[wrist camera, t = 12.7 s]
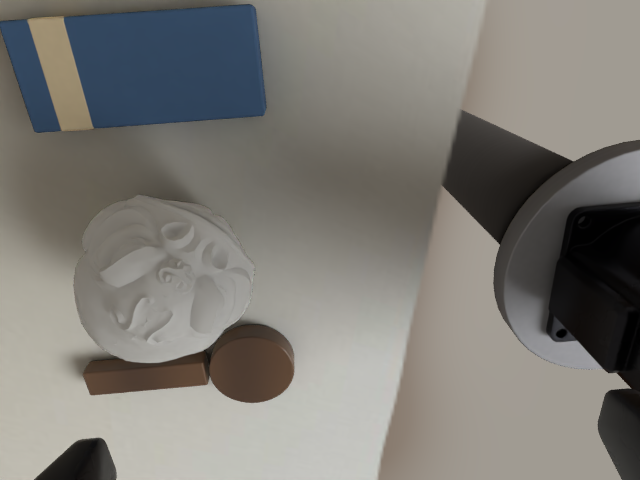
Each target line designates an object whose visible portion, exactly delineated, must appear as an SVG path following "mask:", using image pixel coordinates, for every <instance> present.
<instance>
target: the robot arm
mask: <svg viewBox="0 0 640 480" xmlns="http://www.w3.org/2000/svg"><path fill="white" fill-rule="evenodd" d="M584 216H585V218H584V221H582V222H581V223H579V224H578V222H579V220H580V219H581V218H582V217H584ZM548 309H549V316H548V321H547V327H546V333H547V334H548V336H549V337H550V338H551V339H552V340H553V341H555V342H568V341H578V342H579V343H580V344H581V345H582V346H583V348H584V349H585V350H586V351H587V352H588V353H589V354H590V355H591V356H592V357H593V358H594V359H595V361H596V362H597V363H598V364H599V365H600V366H601V367H602V368H603V369H604V370H605V371H606V372H608V373H617V374H618V375H619V376H620V377H621V378H622V379H623V380H624V381H625V382H626V383H627V384H628V385H629V386H630V387H631V388H632V389H619V390H618V389H617V390H610V391H608V392H607V393H606V395H605V397H604V401H603V405H602V408H601V413H600V416H599V420H598V431H599V434H600V437H601V439H602V441H603V443H604V445H605V447H606V449H607V451H608V453H609V455H610V457H611V459H612V461H613V463H614V465H615V467H616V469H617V471H618V473H619V475H620V476H621V479H622V480H640V202H632V203H620V204H608V205H595V206H583V207H578V208H575V209H574V210H572V211H571V212H570V213H569V215H568V217H567V220H566V225H565V231H564V236H563V241H562V247H561V252H560V257H559V259H558V261H557V263H556V269H555V274H554V280H553V285H552V290H551V296H550V301H549V307H548ZM560 329H561V330H560ZM558 330H560V331H559V332H557V331H558ZM34 480H116V468H115V465H114V463H113V460H112V457H111V455H110V452H109V450H108V447H107V444H106V442H105V441H104V440H103V439H102V438H91V439H81V440H78V441H77V442H75V443H74V444H73V445H71V446H70V447H69V448H68V449H67V450H66V451H65V452H64V453H63V454H62V455H60V456H59V457H58V458H57V459H56V460H55V461H54V462H53V463H52V464H51V465H49V466H48V467H47V468H46V469H45V470H44V471H43V472H42V473H41V474H40V475H39V476H37V477H36V478H35V479H34Z"/></svg>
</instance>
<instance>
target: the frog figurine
mask: <svg viewBox="0 0 640 480" xmlns="http://www.w3.org/2000/svg"><path fill="white" fill-rule="evenodd" d="M82 245H83V249H84V251H85V254H84V255H83V256H82V257H81V258H80V260H79V261H78V263H77V266H76V268H75V274H74V285H73V286H74V294H75V302H76V306H77V311H78V314H79V317H80V320H81V324H82V325H83V327H84V328H85V330H86V331H87V333H88V334H89V336H90V337H91V338H92V339H93V340H94V341H95V343H96V344H97V345H99V346H100V347H101V348H102V349H103V350H106V351H107V352H108V353H110V354H112V355H113V356H117V357H119V358H121V359H124V360H125V361H131V362H140V363H160V362H165V361H169V360H173V359H177V358H180V357H182V356H186V355H189V354H195V353H198V352H201V351H203V350H204V349H206V348H208V347H209V346H210V345H212V344H213V343H214V342H215V341H216V340H217V338H218V337H219V336H220V335H221V334H222V332H223V331H224V329H226V328H228V327H229V326H230V325H232V324H234V323H235V322H236V321H238V320H239V319H240V317H241V316H242V315H243V313H244V312H245V310H246V309H247V307H248V305H249V303H250V301H251V296H252V292H253V281H252V280H253V278H254V271H255V266H254V263H253V262H252V261H251V260H250V258H249V257H248V256H247V255H246V254H245V251H244V249H243V247H242V245H241V243H240V241H239V240H238V238H237V237H236V236H235V234H234V232H233V230H232V228H231V226H230V225H229V224H228V222H227V221H226V220H225V219H224V218H222V217H221V216H220V215H214V214H213V213H212V211H211V210H210V209H209V208H207V207H205V206H203V205H200V204H195V203H186V202H181V201H173V200H163V199H158V198H154V197H147V196H144V195H137V196H135V198H131V199H129V200H122V201H118V202H115V203H113V204H111V205H109V206H107V207H105V208H104V209H102V210H101V211H100V212H99V213H98V214H97V215H96V216H95V217H94V218H93V219H92V220H91V221H90V223H89V224H88V226H87V228H86V230H85V231H84V234H83V239H82Z"/></svg>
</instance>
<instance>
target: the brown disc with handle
mask: <svg viewBox="0 0 640 480" xmlns="http://www.w3.org/2000/svg"><path fill="white" fill-rule="evenodd" d="M209 376H210V377H211V380H212V382H213V384H214V385H215V387H216V388H217V389H218V390H219V391H220V392H221V393H222V394H224V395H225V396H227V397H229V398H231V399H234V400H237V401H240V402H246V403H258V402H264V401H268V400H270V399H273V398H275V397H277V396H278V395H280V394H281V393H283V392H284V391H285V390H286V389H287V388H288V386H289V385H290V383H291V381H292V379H293V376H294V353H293V349H292V346H291V345H290V343H289V342H288V340H287V339H286V338H285V337H284V336H283V335H282V334H280V333H279V332H277V331H276V330H274V329H272V328H269V327H266V326H261V325H244V326H240V327H236V328H234V329H231V330H230V331H228V332H226V333H225V334H224V335H222V336H221V337H220V338H219V340H218V341H217V342H216V344H215V346H214V348H213V351H212V356H211V360H210V364H208V360H207V355H206V352H205V351H202V352H198V353H195V354H189V355H186V356H182V357H180V358H177V359H173V360H169V361H165V362H160V363H140V362H131V361H125V360H124V359H112V360H101V361H91V362H89V364H88V365H87V367H86V368H85V370H84V372H83V377H84V379H85V382H86V385H87V387H88V390H89V393H90V395H102V394H113V393H124V392H135V391H146V390H157V389H168V388H179V387H190V386H201V385H207V384H208V380H209Z"/></svg>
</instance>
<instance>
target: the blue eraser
mask: <svg viewBox="0 0 640 480" xmlns="http://www.w3.org/2000/svg"><path fill="white" fill-rule="evenodd" d="M0 30H1V33H2V36H3V39H4V42H5V45H6V48H7V51H8V54H9V57H10V60H11V63H12V66H13V69H14V72H15V75H16V78H17V81H18V84H19V87H20V90H21V93H22V96H23V99H24V102H25V105H26V108H27V111H28V114H29V117H30V120H31V123H32V126H33V129H34V131H35V132H37V133H42V132H55V131H78V130H91V129H96V128H109V127H122V126H136V125H149V124H163V123H176V122H189V121H203V120H216V119H229V118H243V117H256V116H263V115H264V114H265V111H266V108H267V107H266V98H265V89H264V80H263V70H262V61H261V52H260V43H259V34H258V25H257V16H256V9H255V7H254V6H252V5H250V4H245V5H230V6H215V7H201V8H186V9H171V10H156V11H142V12H127V13H112V14H97V15H82V16H57V17H42V18H29V19H23V20H9V21H0Z"/></svg>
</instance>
